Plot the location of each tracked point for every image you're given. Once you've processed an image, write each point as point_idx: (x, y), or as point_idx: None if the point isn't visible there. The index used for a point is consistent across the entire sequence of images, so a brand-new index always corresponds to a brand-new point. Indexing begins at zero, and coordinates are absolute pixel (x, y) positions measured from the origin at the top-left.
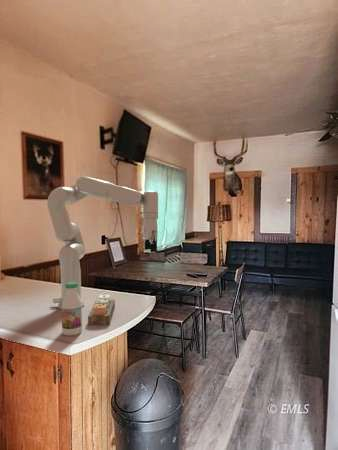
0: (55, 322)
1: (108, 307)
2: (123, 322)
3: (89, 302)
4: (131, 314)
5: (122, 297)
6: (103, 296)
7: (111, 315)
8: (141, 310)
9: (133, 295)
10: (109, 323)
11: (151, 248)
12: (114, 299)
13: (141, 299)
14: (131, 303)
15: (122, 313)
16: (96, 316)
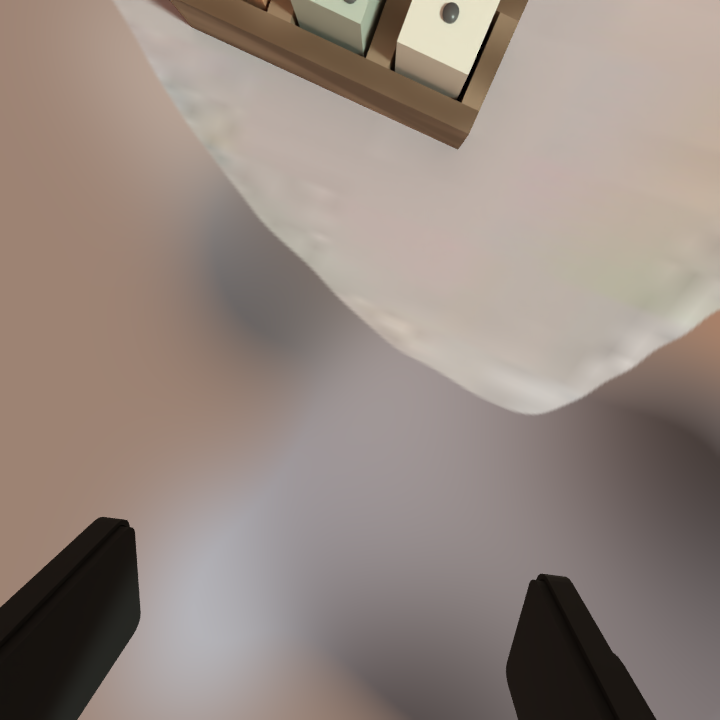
0: None
1: (359, 54)
2: (202, 114)
3: (655, 9)
4: (299, 199)
5: (620, 261)
6: (446, 4)
7: (275, 58)
8: (335, 272)
9: (616, 337)
10: (187, 21)
11: (41, 588)
12: (468, 132)
13: (513, 347)
14: (475, 268)
15: (335, 157)
16: None
